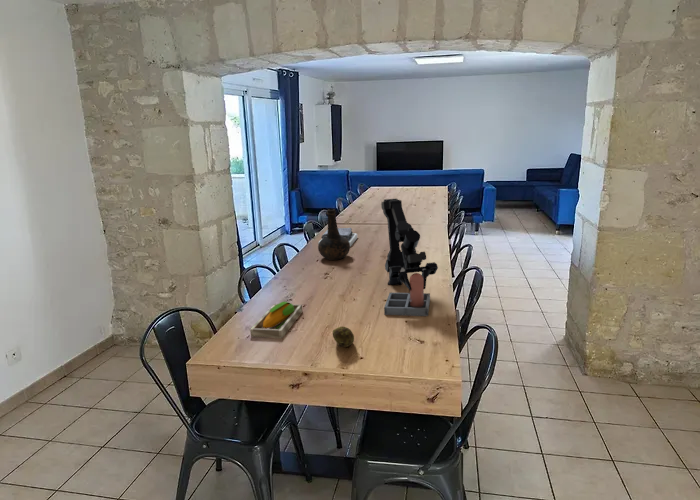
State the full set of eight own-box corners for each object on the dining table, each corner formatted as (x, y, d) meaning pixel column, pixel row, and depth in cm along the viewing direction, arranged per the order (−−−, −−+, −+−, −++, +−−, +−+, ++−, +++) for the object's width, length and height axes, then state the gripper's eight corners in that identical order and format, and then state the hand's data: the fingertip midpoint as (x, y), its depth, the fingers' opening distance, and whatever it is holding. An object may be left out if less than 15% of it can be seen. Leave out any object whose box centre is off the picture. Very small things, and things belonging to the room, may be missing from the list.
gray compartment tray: (389, 299, 207) (389, 292, 206) (430, 300, 203) (429, 293, 202) (384, 314, 191) (384, 307, 190) (427, 316, 187) (427, 308, 186)
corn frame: (274, 310, 201) (274, 303, 200) (302, 311, 198) (301, 304, 198) (251, 336, 177) (250, 329, 176) (282, 338, 175) (281, 330, 174)
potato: (359, 338, 172) (358, 317, 170) (352, 355, 160) (350, 332, 157) (336, 337, 173) (335, 316, 171) (327, 353, 161) (326, 331, 159)
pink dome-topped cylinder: (407, 304, 192) (406, 273, 189) (417, 300, 195) (417, 270, 192) (416, 308, 188) (415, 276, 185) (426, 304, 191) (426, 273, 187)
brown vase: (351, 253, 280) (349, 205, 273) (348, 262, 263) (346, 211, 255) (321, 254, 282) (318, 206, 275) (316, 263, 265) (312, 212, 257)
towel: (326, 239, 315) (325, 227, 313) (354, 238, 312) (353, 227, 310) (321, 245, 301) (320, 232, 299) (350, 244, 298) (349, 232, 296)
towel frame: (327, 237, 320) (327, 233, 319) (357, 237, 315) (357, 233, 314) (318, 246, 298) (318, 242, 297) (350, 247, 294) (349, 242, 293)
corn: (297, 297, 193) (271, 316, 175) (300, 315, 194) (274, 336, 177) (281, 297, 195) (254, 316, 178) (284, 314, 197) (257, 335, 179)
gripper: (390, 246, 188) (397, 282, 180) (436, 242, 190) (445, 278, 183) (386, 260, 198) (393, 295, 190) (430, 256, 200) (438, 290, 192)
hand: (417, 289), depth 189 cm, fingers closed on pink dome-topped cylinder, 5 cm apart
